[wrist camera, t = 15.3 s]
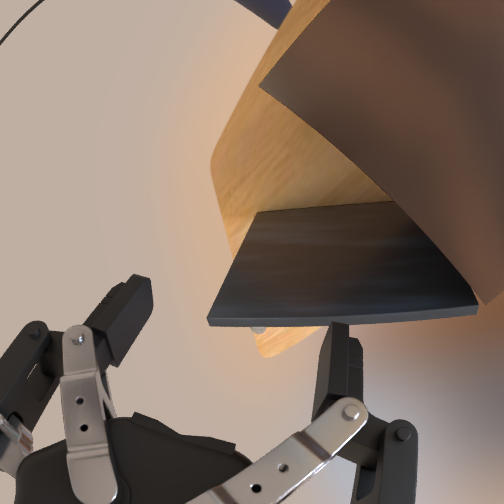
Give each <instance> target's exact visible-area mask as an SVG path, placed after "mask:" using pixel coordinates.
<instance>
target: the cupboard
mask: <svg viewBox="0 0 504 504" xmlns="http://www.w3.org/2000/svg"><path fill="white" fill-rule="evenodd" d="M259 87H260V88H262V89H263V90H265V91H266V92H267V93H269V94H270V95H271V96H273V97H274V98H275V99H277V100H278V101H279V102H281V103H282V104H283V105H285V106H286V107H287V108H289V109H290V110H291V111H292V112H294V113H295V114H296V115H298V116H299V117H300V118H301V119H303V120H304V121H305V122H306V123H308V124H309V125H310V126H311V127H313V128H314V129H315V130H316V131H317V132H319V133H320V134H321V135H322V136H323V137H325V138H326V139H327V140H328V141H329V142H331V143H332V144H333V145H334V146H335V147H336V148H338V149H339V150H340V151H341V152H342V153H343V154H344V155H346V156H347V157H348V158H349V159H350V160H351V161H352V162H353V163H355V164H356V165H357V166H358V167H359V168H360V169H361V170H362V171H363V172H364V173H365V174H367V175H368V176H369V177H370V178H371V179H372V180H373V181H374V182H375V183H376V184H377V185H378V186H379V187H380V188H381V189H382V190H383V191H384V192H385V193H386V194H388V195H389V196H390V197H391V198H392V199H393V200H394V201H395V202H396V203H397V204H398V205H399V206H400V207H401V208H402V209H403V211H404V212H405V213H406V214H407V215H408V216H409V217H410V218H411V219H412V220H413V221H414V222H415V223H416V224H417V225H418V226H419V227H420V228H421V229H422V230H423V232H424V233H425V234H426V235H427V236H428V237H429V238H430V239H431V240H432V241H433V243H434V244H435V245H436V246H437V247H438V248H439V249H440V250H441V252H442V253H443V254H444V255H445V256H446V257H447V258H448V260H449V261H450V262H451V263H452V264H453V265H454V267H455V268H456V269H457V270H458V271H459V273H460V274H461V275H462V276H463V278H464V279H465V280H466V281H467V282H468V284H469V285H470V286H471V287H472V289H473V290H474V291H475V292H476V294H477V295H478V296H479V298H480V299H481V300H482V302H483V303H484V304H485V305H487V304H488V303H489V302H490V301H491V300H493V299H494V298H495V297H497V296H498V295H499V294H500V293H501V292H503V291H504V0H331V1H330V2H329V3H328V4H327V5H326V6H325V7H324V8H323V10H322V11H321V12H320V13H319V14H318V15H317V16H316V17H315V18H314V20H313V21H312V22H311V23H310V24H309V25H308V26H307V27H306V29H305V30H304V31H303V32H302V33H301V34H300V36H299V37H298V38H297V39H296V40H295V41H294V43H293V44H292V45H291V46H290V47H289V49H288V50H287V51H286V52H285V53H284V55H283V56H282V57H281V58H280V60H279V61H278V62H277V63H276V64H275V66H274V67H273V68H272V69H271V71H270V72H269V73H268V74H267V76H266V77H265V78H264V79H263V81H262V82H261V83H260V85H259Z"/></svg>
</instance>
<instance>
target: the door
mask: <svg viewBox="0 0 504 504" xmlns="http://www.w3.org/2000/svg"><path fill="white" fill-rule="evenodd" d="M478 307H479V304H478V301H477V299H476V297H475V295H474V293H473V290H472V288H471V286H470V285H469V284H468V282H467V281H466V280H465V279H464V278H463V276H462V275H461V274H460V273H459V271H458V270H457V269H456V268H455V267H454V265H453V264H452V263H451V262H450V261H449V260H448V258H447V257H446V256H445V255H444V254H443V253H442V252H441V250H440V249H439V248H438V247H437V246H436V245H435V244H434V243H433V241H432V240H431V239H430V238H429V237H428V236H427V235H426V234H425V233H424V232H423V230H422V229H421V228H420V227H419V226H418V225H417V224H416V223H415V222H414V221H413V220H412V219H411V218H410V217H409V216H408V215H407V214H406V213H405V212H404V211H403V209H402V208H401V207H400V206H399V205H398V204H397V203H396V202H381V203H366V204H352V205H339V206H327V207H314V208H303V209H292V210H281V211H270V212H260V213H257V214H256V216H255V218H254V220H253V222H252V224H251V226H250V228H249V230H248V232H247V234H246V236H245V238H244V240H243V243H242V245H241V247H240V249H239V251H238V253H237V255H236V257H235V259H234V261H233V263H232V265H231V267H230V270H229V272H228V274H227V276H226V278H225V280H224V282H223V284H222V286H221V288H220V290H219V293H218V295H217V297H216V299H215V301H214V303H213V305H212V308H211V309H210V312H209V314H208V316H207V320H208V323H209V325H210V326H220V327H250V328H251V330H252V331H253V332H254V333H257V334H262V333H264V332H265V330H266V327H304V326H329V325H330V323H331V321H334V322H339V323H345V324H349V325H358V324H376V323H392V322H404V321H417V320H429V319H439V318H449V317H458V316H467V315H475V314H477V311H478Z"/></svg>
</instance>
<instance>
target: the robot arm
mask: <svg viewBox="0 0 504 504" xmlns="http://www.w3.org/2000/svg"><path fill="white" fill-rule="evenodd" d="M43 1H44V0H39V1H38V2H37V3H36V4H34V5H33V6H32V7H31V8H30V9H29V10H28V11H27V12H26V13H25V14H24V15H23V16H22V17H21V18H20V19H19V20H18V21H17V22H16V23H15V24H14V25H13V26H12V28H11V29H10V30H9V31H8V32H7V33H6V34H5V36H4V37H3V38H2V39H1V40H0V45H1V44H2V43H3V41H4V40H5V39H6V38H7V37H8V35H9V34H10V33H11V32H12V31H13V30H14V29H15V28H16V26H17V25H18V24H19V23H20V22H21V21H22V20H23V19H24V18H25V17H26V16H27V15H28V14H29V13H30V12H31V11H32V10H34V9H35V8H36V7H37V6H38V5H39V4H40V3H42V2H43ZM152 310H153V296H152V288H151V280H150V278H147V277H143V276H140V275H136V274H133V275H132V276H131V277H130V278H129V279H128V281H127V282H126V283H123V282H121V283H119V284H118V285H116V286H114V287H113V288H112V289H111V290H110V291H109V292H108V293H107V295H106V297H104V299H103V300H102V301H101V303H99V305H98V306H97V307H96V308H95V310H94V311H93V312H92V313H91V314H90V316H89V317H88V318H87V320H86V321H85V322H84V323H83V324H82V325H75V326H72V327H70V328H69V329H67V330H66V331H65V332H59V331H49V329H48V327H47V325H46V324H45V323H44V322H42V321H32V322H30V323H28V324H27V325H26V326H25V327H24V328H23V329H22V330H21V332H20V333H19V334H18V336H17V337H16V338H15V339H14V341H13V342H12V344H11V345H10V346H9V348H8V349H7V350H6V352H5V353H4V354H3V356H2V357H1V358H0V471H3V472H6V473H8V474H9V475H11V476H12V477H14V478H15V479H16V495H15V501H14V504H280V503H281V502H283V501H284V500H286V499H287V498H288V497H289V496H291V495H292V494H293V493H294V492H296V491H297V490H298V489H299V488H300V487H301V486H303V485H304V484H305V483H306V482H307V481H308V480H309V479H311V478H312V477H313V476H314V475H315V474H316V473H318V472H319V471H320V470H321V469H322V468H323V467H324V466H325V465H326V464H327V463H329V462H330V461H331V460H332V459H333V458H334V457H335V456H336V455H338V456H340V457H342V458H345V459H347V460H349V461H352V462H354V463H356V464H357V467H356V474H355V480H354V486H353V492H352V498H351V503H350V504H415V496H416V483H417V463H418V462H417V461H418V433H417V430H416V428H415V427H414V426H413V425H412V424H411V423H410V422H408V421H406V420H400V419H399V420H394V421H392V422H391V423H388V422H386V421H383V420H381V419H379V418H376V417H375V416H373V415H371V414H370V413H369V412H368V410H367V408H366V406H365V405H364V402H363V348H362V346H361V344H360V342H359V340H358V339H357V338H351V337H349V324H345V323H339V322H334V321H331V323H330V325H329V328H328V331H327V333H326V336H325V338H324V341H323V344H322V347H321V350H320V355H319V362H318V372H317V381H316V389H315V397H314V404H313V412H312V419H311V422H312V423H311V424H310V425H309V426H307V427H306V428H305V429H304V430H302V431H301V432H296V433H294V434H293V435H291V436H290V437H289V438H287V439H286V440H285V441H283V442H282V443H281V444H279V445H278V446H277V447H276V448H274V449H273V450H271V451H270V452H269V453H267V454H266V455H265V456H263V457H262V458H260V459H259V460H257V461H256V462H255V463H252V462H251V461H250V460H249V459H248V458H247V457H246V456H244V455H243V454H241V453H240V452H238V451H236V450H235V446H236V444H234V443H230V442H226V441H223V440H219V439H215V438H212V437H203V436H189V435H181V434H178V433H177V432H175V431H174V430H172V429H171V428H169V427H167V426H166V425H164V424H163V423H161V422H159V421H158V420H156V419H153V418H150V417H147V416H145V415H142V414H140V413H137V412H134V414H133V416H132V417H118V418H117V415H116V412H115V409H114V406H113V402H112V397H111V392H110V386H109V381H108V376H107V371H106V369H107V368H108V366H109V364H110V365H112V366H115V367H118V366H119V365H120V363H121V362H122V360H123V358H124V357H125V355H126V354H127V352H128V350H129V349H130V347H131V345H132V344H133V342H134V341H135V339H136V338H137V336H138V334H139V333H140V331H141V330H142V328H143V326H144V325H145V323H146V322H147V320H148V319H149V317H150V315H151V313H152ZM36 364H37V365H36ZM35 365H36V366H35ZM34 366H35V368H34ZM33 368H34V369H33ZM32 369H33V371H32ZM31 371H32V372H31ZM30 372H31V374H30ZM29 374H30V375H29ZM28 376H29V377H28ZM27 377H28V378H27ZM59 383H60V391H61V403H62V412H63V421H64V429H65V436H66V439H64V440H62V441H59V442H57V443H55V444H52V445H50V446H47V447H45V448H42V449H41V450H38V451H35V452H33V453H31V452H32V451H33V437H32V434H31V433H32V431H33V429H34V427H35V426H36V424H37V422H38V420H39V418H40V416H41V415H42V413H43V411H44V409H45V407H46V406H47V404H48V402H49V400H50V399H51V397H52V395H53V393H54V392H55V390H56V388H57V387H58V385H59Z"/></svg>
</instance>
